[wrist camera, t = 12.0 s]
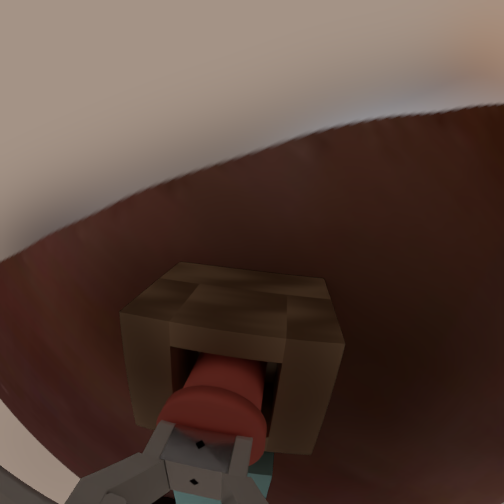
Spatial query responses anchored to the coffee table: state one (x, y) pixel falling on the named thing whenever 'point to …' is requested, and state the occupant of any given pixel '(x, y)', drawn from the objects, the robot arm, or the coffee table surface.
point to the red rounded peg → (222, 399)
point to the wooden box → (237, 343)
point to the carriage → (257, 471)
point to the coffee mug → (165, 501)
